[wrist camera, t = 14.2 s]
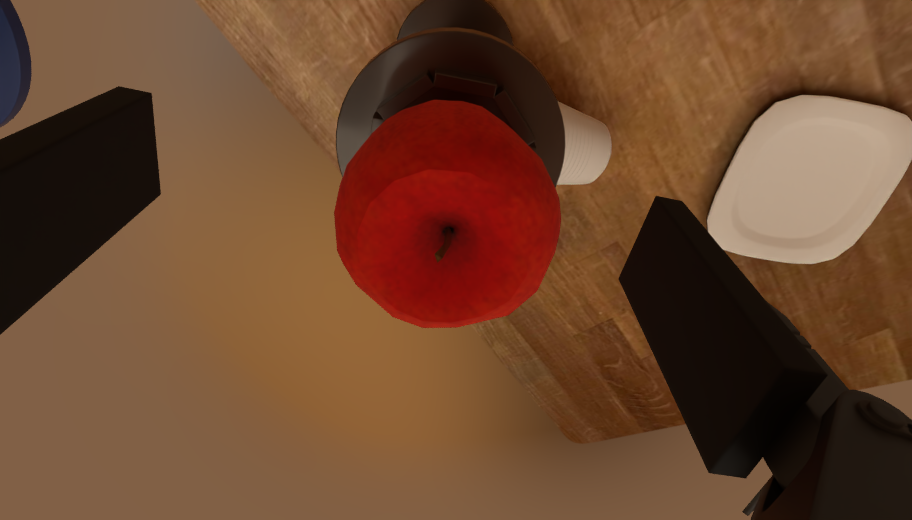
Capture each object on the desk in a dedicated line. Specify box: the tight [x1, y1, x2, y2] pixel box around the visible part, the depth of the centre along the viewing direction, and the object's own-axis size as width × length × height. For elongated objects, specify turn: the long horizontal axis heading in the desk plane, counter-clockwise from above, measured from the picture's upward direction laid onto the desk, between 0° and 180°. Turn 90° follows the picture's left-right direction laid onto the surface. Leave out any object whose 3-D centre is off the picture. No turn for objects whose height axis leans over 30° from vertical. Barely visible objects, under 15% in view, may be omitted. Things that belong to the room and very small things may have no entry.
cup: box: [557, 101, 612, 185], centre depth 49 cm, size 10×10×11 cm
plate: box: [707, 95, 912, 264], centre depth 55 cm, size 18×18×2 cm
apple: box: [334, 100, 561, 328], centre depth 23 cm, size 9×9×11 cm
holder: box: [336, 0, 565, 187], centre depth 38 cm, size 12×12×27 cm
